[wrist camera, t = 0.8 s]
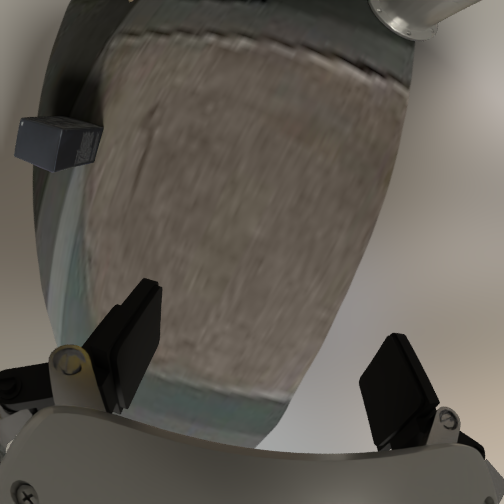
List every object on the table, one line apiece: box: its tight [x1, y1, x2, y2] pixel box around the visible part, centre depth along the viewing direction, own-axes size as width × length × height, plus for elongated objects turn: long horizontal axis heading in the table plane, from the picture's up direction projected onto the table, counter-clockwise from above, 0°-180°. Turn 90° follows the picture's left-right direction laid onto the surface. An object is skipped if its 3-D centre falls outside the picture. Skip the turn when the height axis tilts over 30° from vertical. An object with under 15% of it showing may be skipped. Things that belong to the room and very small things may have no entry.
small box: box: [14, 116, 103, 173], centre depth 30 cm, size 11×6×10 cm, turn 67°
